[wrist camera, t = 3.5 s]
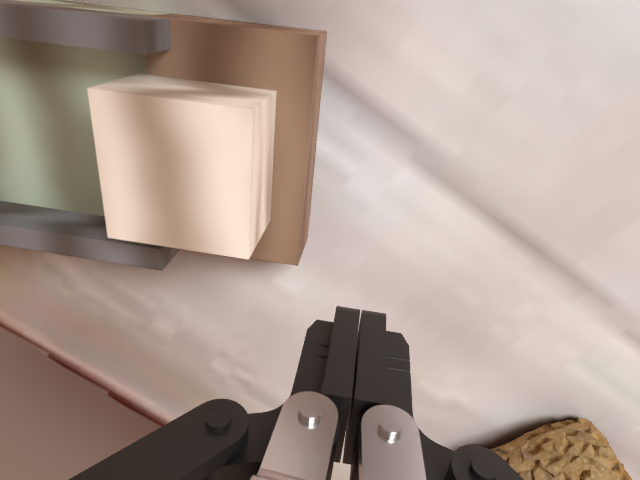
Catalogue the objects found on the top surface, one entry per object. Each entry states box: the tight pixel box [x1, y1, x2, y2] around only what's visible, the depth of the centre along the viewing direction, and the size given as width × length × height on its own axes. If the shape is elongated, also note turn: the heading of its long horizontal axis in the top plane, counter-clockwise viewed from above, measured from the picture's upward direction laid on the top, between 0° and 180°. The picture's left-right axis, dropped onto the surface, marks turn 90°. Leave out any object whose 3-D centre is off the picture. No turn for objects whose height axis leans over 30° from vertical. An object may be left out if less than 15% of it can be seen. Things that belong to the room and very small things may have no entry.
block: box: [87, 73, 277, 259], centre depth 26 cm, size 8×8×5 cm
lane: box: [0, 0, 327, 270], centre depth 29 cm, size 33×14×7 cm, turn 84°
